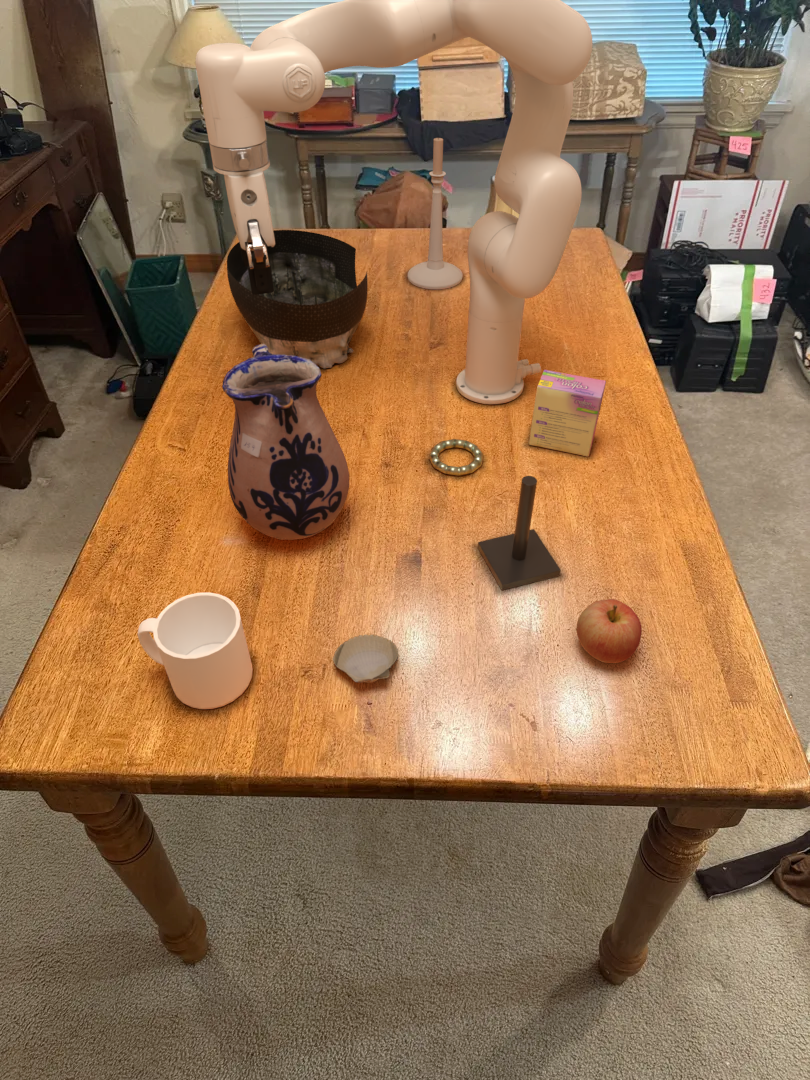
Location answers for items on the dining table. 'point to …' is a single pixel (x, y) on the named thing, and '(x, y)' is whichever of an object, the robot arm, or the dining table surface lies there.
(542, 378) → the box
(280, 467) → the ceramic pitcher
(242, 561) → the dining table surface
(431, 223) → the candlestick
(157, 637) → the mug
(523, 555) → the stand
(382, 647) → the seashell
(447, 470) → the beaded ring
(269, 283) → the robot arm
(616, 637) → the apple
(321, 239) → the basket
